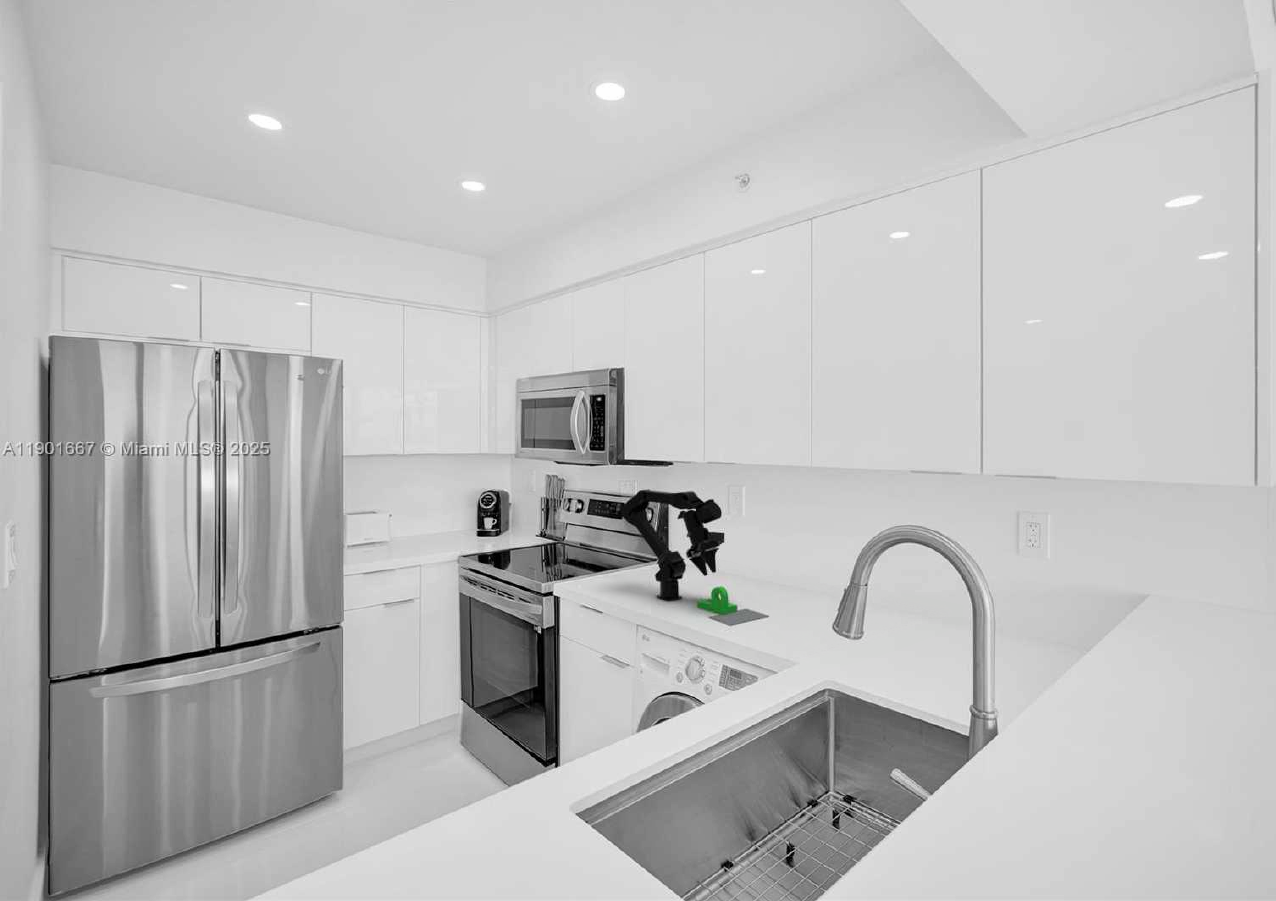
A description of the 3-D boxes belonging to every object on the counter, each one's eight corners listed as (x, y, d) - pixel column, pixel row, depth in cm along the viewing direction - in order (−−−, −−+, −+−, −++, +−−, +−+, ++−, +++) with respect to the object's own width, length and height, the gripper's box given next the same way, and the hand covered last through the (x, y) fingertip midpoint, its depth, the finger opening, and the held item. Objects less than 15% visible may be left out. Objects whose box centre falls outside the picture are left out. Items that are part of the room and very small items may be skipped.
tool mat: (708, 617, 190) (708, 616, 190) (746, 609, 199) (746, 608, 199) (730, 625, 182) (730, 625, 182) (769, 616, 191) (769, 615, 191)
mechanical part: (737, 611, 196) (736, 586, 196) (724, 614, 192) (723, 589, 192) (710, 603, 205) (709, 579, 205) (697, 607, 202) (696, 582, 201)
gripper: (726, 516, 198) (742, 563, 194) (709, 526, 216) (723, 570, 212) (694, 525, 195) (710, 573, 191) (679, 535, 213) (693, 579, 209)
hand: (710, 574), depth 201 cm, fingers open, 9 cm apart
